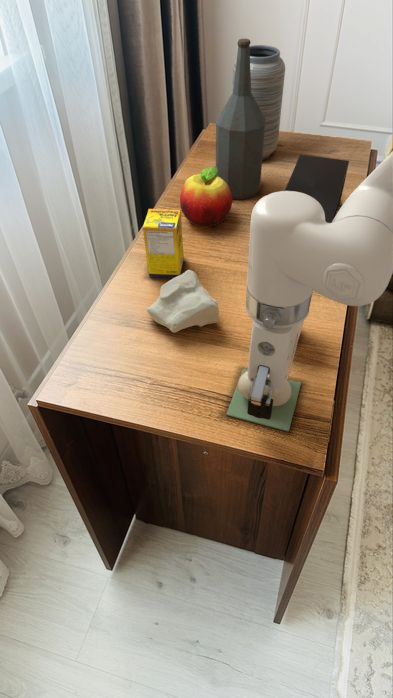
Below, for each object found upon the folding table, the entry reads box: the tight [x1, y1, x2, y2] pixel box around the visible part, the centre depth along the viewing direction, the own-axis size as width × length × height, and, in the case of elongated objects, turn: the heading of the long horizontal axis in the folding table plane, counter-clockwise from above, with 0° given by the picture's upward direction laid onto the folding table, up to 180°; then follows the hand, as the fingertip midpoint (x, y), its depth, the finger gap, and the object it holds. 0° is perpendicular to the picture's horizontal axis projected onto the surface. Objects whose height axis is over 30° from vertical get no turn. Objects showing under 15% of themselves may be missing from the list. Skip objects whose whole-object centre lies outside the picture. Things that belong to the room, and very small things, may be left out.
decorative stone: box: [146, 269, 220, 333], centre depth 83 cm, size 11×9×10 cm
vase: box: [231, 44, 286, 161], centre depth 117 cm, size 12×12×23 cm
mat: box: [226, 368, 302, 432], centre depth 73 cm, size 9×9×1 cm
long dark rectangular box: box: [284, 153, 350, 223], centre depth 97 cm, size 10×26×10 cm, turn 161°
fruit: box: [179, 165, 233, 228], centre depth 102 cm, size 11×11×10 cm
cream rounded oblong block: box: [237, 371, 291, 406], centre depth 71 cm, size 8×4×4 cm, turn 71°
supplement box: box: [142, 208, 185, 278], centre depth 90 cm, size 6×6×11 cm
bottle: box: [215, 38, 265, 200], centre depth 103 cm, size 10×10×30 cm
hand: (267, 388), depth 71 cm, fingers open, 9 cm apart
